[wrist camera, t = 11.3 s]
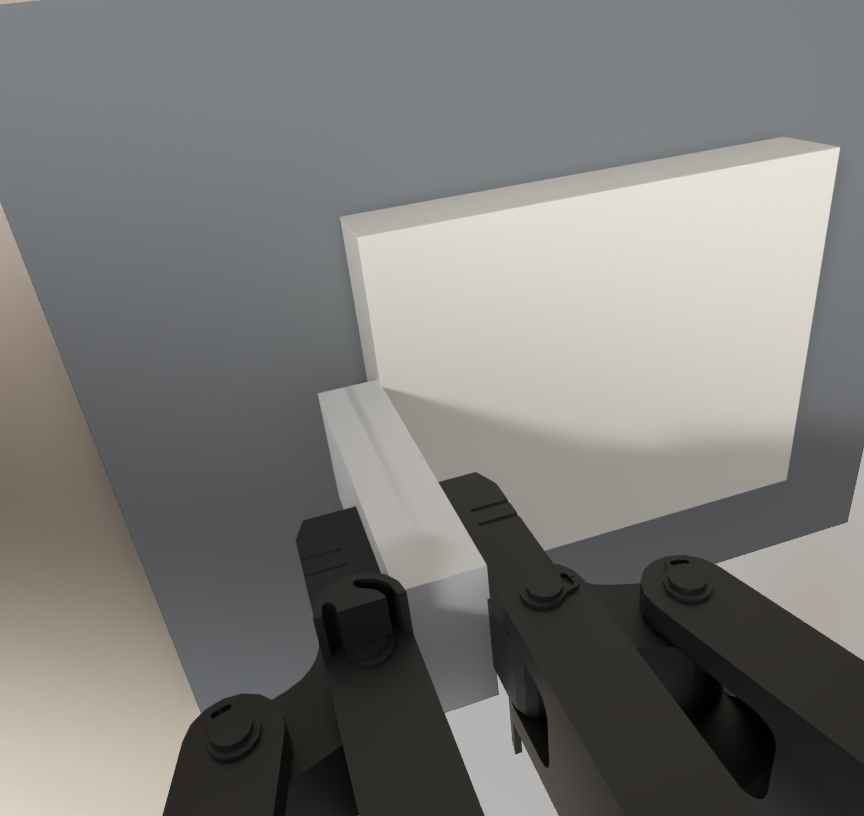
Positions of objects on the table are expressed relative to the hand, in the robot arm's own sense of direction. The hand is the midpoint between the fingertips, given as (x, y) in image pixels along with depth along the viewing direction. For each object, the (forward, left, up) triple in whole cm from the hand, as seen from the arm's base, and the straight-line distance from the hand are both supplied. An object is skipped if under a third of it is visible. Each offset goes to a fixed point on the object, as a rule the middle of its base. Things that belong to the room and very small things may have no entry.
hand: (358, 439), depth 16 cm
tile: (+1, 0, -1) cm, 1 cm away
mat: (+5, 0, -2) cm, 6 cm away
